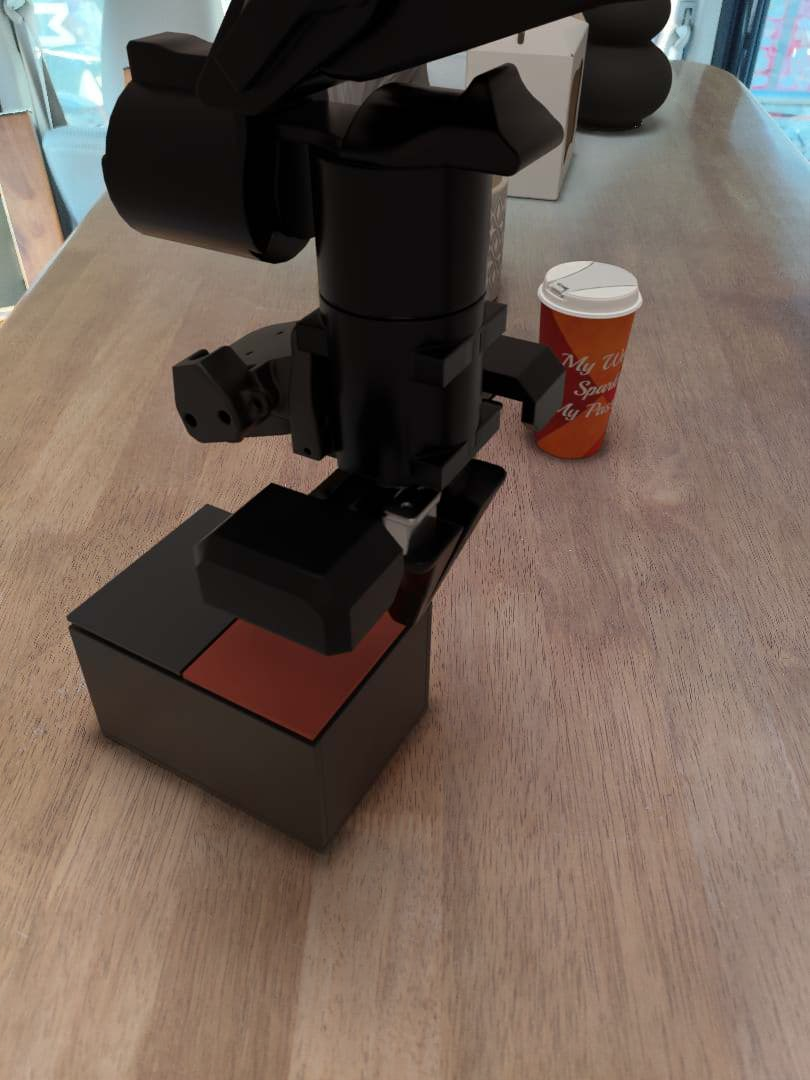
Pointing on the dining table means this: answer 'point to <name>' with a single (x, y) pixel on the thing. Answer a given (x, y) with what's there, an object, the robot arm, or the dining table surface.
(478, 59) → the cake box
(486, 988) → the dining table surface
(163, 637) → the black flip box
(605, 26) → the vase
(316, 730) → the lid
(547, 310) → the paper cup
